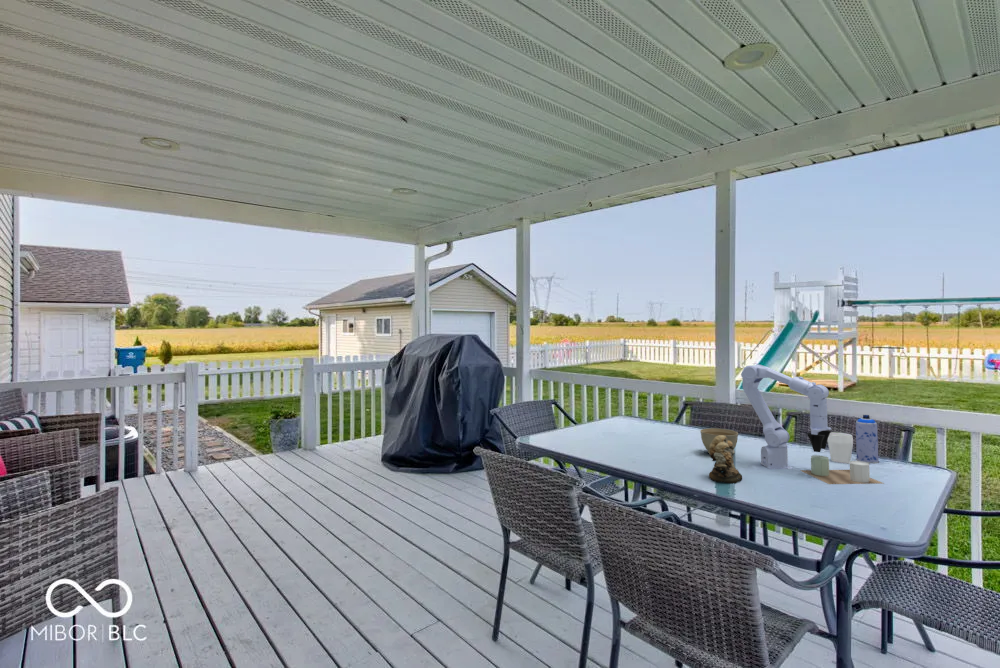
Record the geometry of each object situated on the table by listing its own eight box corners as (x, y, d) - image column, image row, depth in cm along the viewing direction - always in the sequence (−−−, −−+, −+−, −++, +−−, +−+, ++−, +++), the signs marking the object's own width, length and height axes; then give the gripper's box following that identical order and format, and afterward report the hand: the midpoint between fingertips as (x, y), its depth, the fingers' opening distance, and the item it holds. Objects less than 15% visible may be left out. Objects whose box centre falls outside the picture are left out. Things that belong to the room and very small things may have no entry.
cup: (858, 463, 203) (857, 435, 203) (844, 466, 200) (843, 437, 200) (837, 458, 212) (836, 431, 212) (823, 460, 208) (822, 433, 208)
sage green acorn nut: (817, 475, 186) (817, 459, 186) (808, 471, 191) (808, 455, 191) (832, 475, 186) (831, 458, 186) (822, 471, 191) (822, 455, 191)
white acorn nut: (857, 482, 177) (857, 464, 177) (847, 478, 182) (846, 460, 182) (873, 482, 176) (872, 464, 176) (862, 477, 182) (861, 460, 182)
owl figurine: (740, 487, 177) (739, 441, 177) (706, 483, 183) (704, 438, 183) (743, 473, 193) (741, 431, 193) (711, 470, 199) (710, 429, 199)
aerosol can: (871, 458, 210) (869, 413, 210) (883, 463, 202) (882, 416, 202) (852, 458, 211) (850, 413, 211) (863, 463, 203) (862, 416, 203)
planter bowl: (727, 461, 212) (726, 436, 212) (694, 454, 225) (693, 431, 225) (745, 455, 222) (744, 431, 222) (712, 448, 235) (712, 426, 235)
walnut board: (829, 485, 176) (829, 484, 176) (799, 471, 194) (799, 470, 194) (884, 484, 175) (884, 483, 175) (850, 470, 193) (850, 469, 193)
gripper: (825, 419, 181) (826, 455, 181) (835, 414, 191) (836, 448, 191) (804, 417, 186) (805, 452, 186) (814, 412, 196) (815, 445, 196)
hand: (819, 450), depth 189 cm, fingers open, 7 cm apart
